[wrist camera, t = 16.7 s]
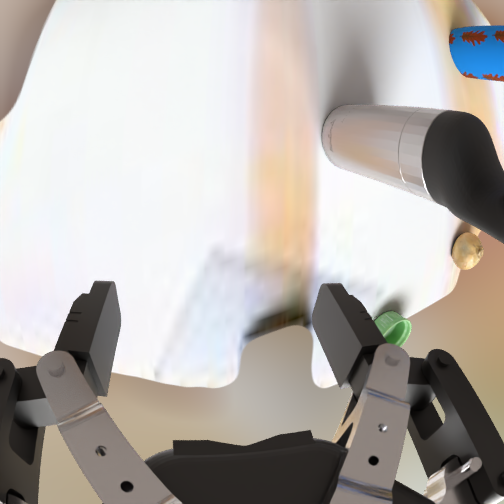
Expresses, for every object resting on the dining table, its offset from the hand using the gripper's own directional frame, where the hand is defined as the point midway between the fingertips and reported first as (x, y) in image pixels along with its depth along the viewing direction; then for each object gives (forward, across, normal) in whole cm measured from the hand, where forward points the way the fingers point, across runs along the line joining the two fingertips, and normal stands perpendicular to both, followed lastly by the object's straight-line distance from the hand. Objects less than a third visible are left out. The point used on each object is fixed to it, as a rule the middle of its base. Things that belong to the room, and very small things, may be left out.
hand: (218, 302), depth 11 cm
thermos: (+35, -45, -27) cm, 64 cm away
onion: (+32, -54, +13) cm, 64 cm away
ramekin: (+28, -36, +30) cm, 54 cm away
